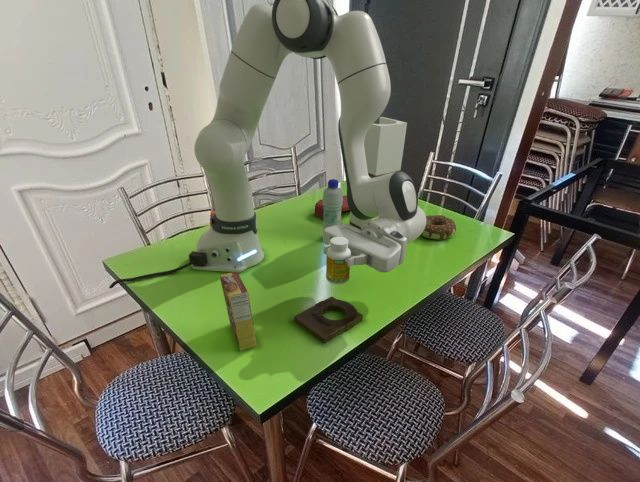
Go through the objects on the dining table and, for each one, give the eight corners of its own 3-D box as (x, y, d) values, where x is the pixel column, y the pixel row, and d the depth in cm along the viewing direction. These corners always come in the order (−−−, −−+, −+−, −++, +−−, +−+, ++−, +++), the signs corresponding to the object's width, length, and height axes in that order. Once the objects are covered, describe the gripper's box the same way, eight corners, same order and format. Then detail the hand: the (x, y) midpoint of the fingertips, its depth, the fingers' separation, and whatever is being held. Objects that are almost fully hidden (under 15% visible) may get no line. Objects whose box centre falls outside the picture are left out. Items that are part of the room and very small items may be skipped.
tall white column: (392, 230, 132) (407, 122, 110) (369, 238, 127) (380, 126, 105) (371, 220, 139) (381, 116, 117) (349, 226, 134) (356, 120, 113)
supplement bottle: (331, 287, 82) (333, 248, 76) (322, 275, 86) (322, 237, 80) (353, 282, 84) (356, 243, 78) (342, 271, 88) (344, 233, 82)
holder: (324, 344, 83) (324, 338, 82) (293, 321, 90) (292, 315, 89) (366, 319, 91) (366, 313, 90) (334, 299, 98) (334, 294, 96)
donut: (460, 232, 131) (464, 219, 128) (443, 245, 123) (447, 231, 120) (424, 221, 138) (427, 209, 135) (406, 233, 130) (408, 220, 127)
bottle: (339, 243, 124) (342, 183, 111) (320, 241, 125) (320, 182, 112) (342, 235, 129) (345, 177, 116) (324, 233, 130) (324, 175, 117)
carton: (348, 206, 160) (310, 213, 143) (350, 194, 157) (311, 201, 140) (371, 213, 154) (334, 222, 137) (373, 201, 151) (335, 209, 134)
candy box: (229, 328, 88) (219, 274, 78) (247, 324, 89) (238, 270, 80) (238, 352, 81) (228, 295, 72) (257, 346, 83) (249, 291, 73)
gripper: (346, 213, 92) (305, 228, 85) (413, 241, 80) (371, 261, 73) (345, 236, 96) (305, 253, 89) (408, 266, 84) (368, 287, 77)
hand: (335, 257), depth 81 cm, fingers closed on supplement bottle, 5 cm apart
